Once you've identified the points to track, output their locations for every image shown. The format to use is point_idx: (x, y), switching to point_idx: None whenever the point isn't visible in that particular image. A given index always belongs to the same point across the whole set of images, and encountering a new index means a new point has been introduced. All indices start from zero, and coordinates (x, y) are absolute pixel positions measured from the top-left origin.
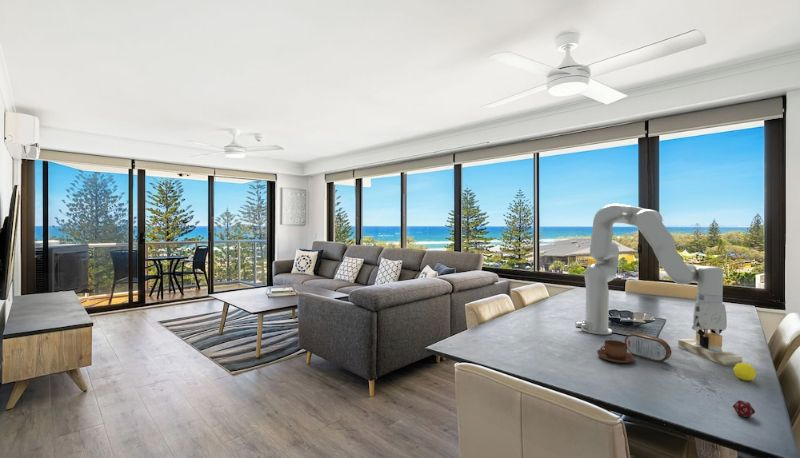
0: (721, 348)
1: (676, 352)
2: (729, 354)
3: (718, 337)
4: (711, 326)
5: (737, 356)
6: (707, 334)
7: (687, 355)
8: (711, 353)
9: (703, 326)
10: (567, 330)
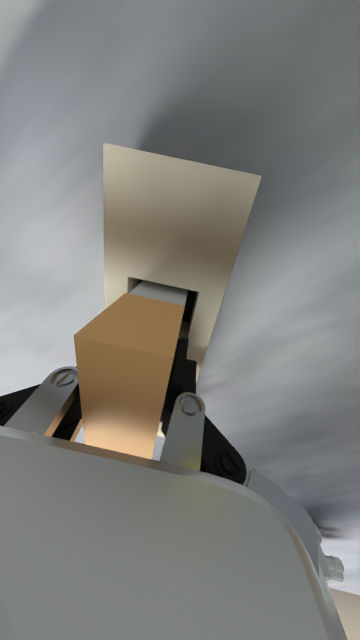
0: (131, 291)
1: (259, 382)
2: (153, 217)
3: (131, 335)
4: (148, 540)
5: (138, 159)
6: (161, 411)
7: (256, 349)
8: (224, 286)
9: (317, 582)
10: (347, 547)
